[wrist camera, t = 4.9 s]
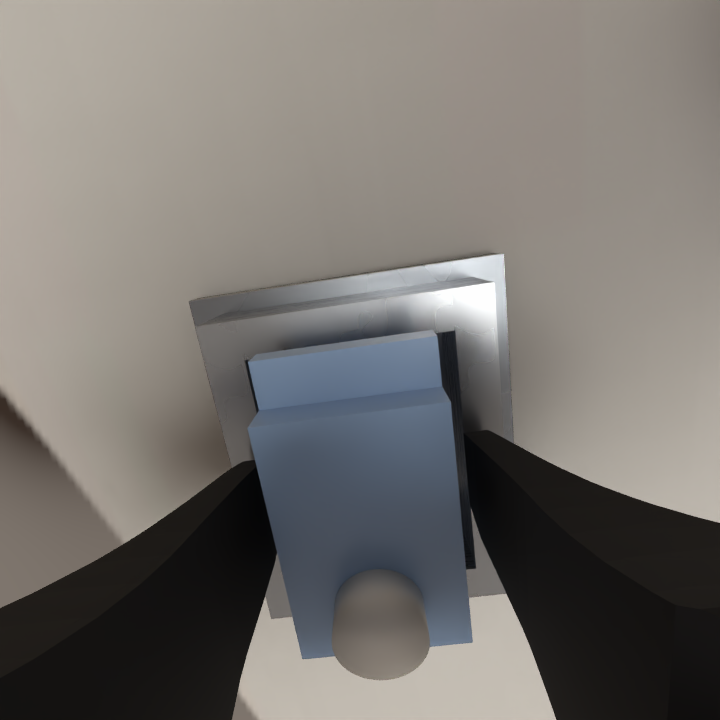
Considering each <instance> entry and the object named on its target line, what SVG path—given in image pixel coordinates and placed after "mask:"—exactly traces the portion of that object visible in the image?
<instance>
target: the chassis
mask: <svg viewBox="0 0 720 720" xmlns="http://www.w3.org/2000/svg"><path fill="white" fill-rule="evenodd" d="M189 304H190V308H191V312H192V316H193V319H194V323H195V329H196V333H197V337H198V340H199V344H200V348H201V352H202V356H203V360H204V363H205V367H206V371H207V375H208V379H209V382H210V386H211V390H212V394H213V398H214V402H215V405H216V409H217V413H218V417H219V421H220V424H221V428H222V432H223V436H224V440H225V444H226V447H227V451H228V455H229V459H230V463H231V466H232V468H233V467H234V466H236V465H237V464H239V463H241V462H243V461H250V460H255V458H254V454H253V449H252V445H251V441H250V437H249V433H248V426H249V425H250V423H251V422H252V420H253V419H254V417H255V416H256V414H257V413H258V411H259V408H258V404H257V400H256V395H255V391H254V386H253V382H252V378H251V373H250V369H249V365H248V362H249V361H250V360H251V359H252V358H253V357H254V356H255V355H256V354H261V353H268V352H275V351H282V350H289V349H297V348H304V347H311V346H318V345H325V344H333V343H340V342H347V341H354V340H361V339H369V338H376V337H383V336H390V335H397V334H404V333H412V332H419V331H426V330H433V331H434V333H435V334H436V335H437V338H438V348H439V359H440V369H441V379H442V387H443V389H444V391H445V392H446V394H447V396H448V398H449V400H450V401H451V410H452V421H453V432H454V443H455V454H456V465H457V476H458V487H459V498H460V509H461V520H462V531H463V542H464V553H465V564H466V575H467V586H468V597H479V596H488V595H497V594H506V591H505V589H504V587H503V585H502V583H501V581H500V579H499V577H498V574H497V572H496V570H495V568H494V566H493V564H492V561H491V559H490V557H489V555H488V553H487V551H486V548H485V546H484V544H483V542H482V540H481V537H480V534H479V531H478V528H477V525H476V522H475V519H474V516H473V512H472V509H471V506H470V503H469V492H468V480H467V469H466V458H465V447H464V435H463V433H466V432H474V431H482V430H489V431H491V432H494V433H495V434H497V435H499V436H501V437H503V438H505V439H506V440H508V441H510V442H512V443H514V438H513V419H512V400H511V381H510V362H509V343H508V324H507V305H506V286H505V267H504V254H503V253H493V254H487V255H480V256H473V257H467V258H460V259H454V260H447V261H441V262H434V263H427V264H421V265H414V266H408V267H401V268H394V269H388V270H381V271H375V272H368V273H362V274H355V275H348V276H342V277H335V278H329V279H322V280H315V281H309V282H302V283H296V284H289V285H283V286H276V287H269V288H263V289H256V290H250V291H243V292H236V293H230V294H223V295H217V296H210V297H204V298H198V299H195V300H192V301H189ZM265 596H266V600H267V604H268V608H269V611H270V615H271V619H275V618H284V617H292V613H291V609H290V604H289V600H288V596H287V592H286V588H285V583H284V579H283V575H282V571H281V567H280V562H279V558H278V554H277V555H276V561H275V565H274V568H273V571H272V575H271V578H270V581H269V585H268V588H267V591H266V595H265Z"/></svg>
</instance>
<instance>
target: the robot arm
mask: <svg viewBox="0 0 720 720" xmlns="http://www.w3.org/2000/svg"><path fill="white" fill-rule="evenodd" d="M463 435H464V447H465V458H466V469H467V480H468V492H469V503H470V506H471V509H472V512H473V516H474V519H475V522H476V525H477V528H478V531H479V534H480V537H481V540H482V542H483V544H484V546H485V548H486V551H487V553H488V555H489V557H490V559H491V561H492V564H493V566H494V568H495V570H496V572H497V574H498V577H499V579H500V581H501V583H502V585H503V587H504V589H505V591H506V594H507V596H508V598H509V600H510V602H511V604H512V606H513V609H514V611H515V613H516V615H517V617H518V619H519V621H520V624H521V626H522V628H523V631H524V633H525V635H526V638H527V640H528V642H529V645H530V647H531V650H532V653H533V655H534V658H535V661H536V664H537V666H538V669H539V672H540V675H541V677H542V680H543V683H544V686H545V689H546V691H547V694H548V697H549V700H550V702H551V705H552V708H553V711H554V714H555V717H556V720H720V523H717V522H713V521H710V520H706V519H702V518H698V517H694V516H691V515H687V514H684V513H680V512H677V511H674V510H670V509H667V508H663V507H660V506H656V505H653V504H650V503H647V502H644V501H641V500H638V499H635V498H632V497H629V496H627V495H624V494H621V493H619V492H616V491H613V490H610V489H608V488H605V487H602V486H600V485H597V484H595V483H593V482H590V481H588V480H585V479H583V478H581V477H579V476H576V475H574V474H572V473H570V472H568V471H566V470H563V469H561V468H559V467H557V466H555V465H553V464H551V463H549V462H547V461H545V460H543V459H541V458H539V457H537V456H536V455H534V454H532V453H530V452H528V451H526V450H524V449H523V448H521V447H519V446H517V445H515V444H514V443H512V442H510V441H508V440H506V439H505V438H503V437H501V436H499V435H497V434H495V433H494V432H491V431H489V430H482V431H474V432H466V433H463ZM276 555H277V550H276V546H275V542H274V537H273V533H272V529H271V525H270V521H269V516H268V512H267V508H266V504H265V500H264V495H263V491H262V487H261V483H260V479H259V475H258V470H257V466H256V462H255V460H250V461H243V462H241V463H239V464H237V465H236V466H234V467H233V468H231V469H230V470H228V471H227V472H226V473H224V474H223V475H222V476H220V477H219V478H218V479H216V480H215V481H214V482H212V483H211V484H210V485H208V486H207V487H206V488H204V489H203V490H202V491H200V492H199V493H198V494H196V495H195V496H194V497H192V498H191V499H190V500H188V501H187V502H186V503H184V504H183V505H181V506H180V507H178V508H177V509H176V510H174V511H173V512H171V513H170V514H168V515H167V516H166V517H164V518H163V519H161V520H160V521H158V522H157V523H156V524H154V525H153V526H151V527H150V528H148V529H147V530H145V531H144V532H142V533H141V534H139V535H138V536H136V537H134V538H133V539H131V540H130V541H128V542H126V543H125V544H123V545H121V546H120V547H118V548H117V549H115V550H113V551H111V552H110V553H108V554H106V555H104V556H103V557H101V558H99V559H98V560H96V561H94V562H92V563H90V564H89V565H87V566H85V567H83V568H81V569H79V570H77V571H75V572H73V573H71V574H69V575H67V576H65V577H63V578H61V579H59V580H58V581H56V582H54V583H52V584H50V585H48V586H46V587H44V588H42V589H40V590H38V591H36V592H34V593H32V594H30V595H28V596H26V597H24V598H22V599H19V600H17V601H15V602H13V603H10V604H8V605H6V606H4V607H2V608H0V720H232V716H233V711H234V707H235V702H236V697H237V692H238V688H239V683H240V678H241V674H242V671H243V667H244V663H245V659H246V656H247V652H248V649H249V646H250V643H251V639H252V636H253V633H254V630H255V627H256V623H257V620H258V617H259V614H260V611H261V607H262V604H263V601H264V598H265V595H266V591H267V588H268V585H269V581H270V578H271V575H272V571H273V568H274V565H275V561H276Z"/></svg>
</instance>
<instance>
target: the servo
mask: <svg viewBox="0 0 720 720" xmlns="http://www.w3.org/2000/svg"><path fill="white" fill-rule="evenodd" d="M248 365H249V369H250V373H251V378H252V382H253V386H254V391H255V395H256V400H257V404H258V408H259V411H258V413H257V414H256V416H255V417H254V419H253V420H252V422H251V423H250V425H249V426H248V433H249V437H250V441H251V445H252V449H253V454H254V458H255V462H256V466H257V470H258V475H259V479H260V483H261V487H262V491H263V495H264V500H265V504H266V508H267V512H268V516H269V521H270V525H271V529H272V533H273V537H274V542H275V546H276V550H277V554H278V558H279V562H280V567H281V571H282V575H283V579H284V583H285V588H286V592H287V596H288V600H289V604H290V609H291V613H292V617H293V621H294V625H295V629H296V634H297V638H298V642H299V646H300V650H301V655H302V659H311V658H321V657H331V656H335V657H336V658H337V660H338V661H339V663H340V664H341V665H342V666H343V667H344V668H346V669H347V670H348V671H350V672H351V673H353V674H355V675H358V676H360V677H363V678H367V679H373V680H389V679H395V678H399V677H401V676H404V675H406V674H408V673H410V672H412V671H413V670H415V669H416V668H417V667H418V666H419V665H420V664H421V663H422V662H423V661H424V659H425V658H426V656H427V654H428V651H429V647H432V646H442V645H453V644H463V643H473V641H472V630H471V619H470V608H469V597H468V586H467V575H466V564H465V553H464V542H463V531H462V520H461V509H460V498H459V487H458V476H457V465H456V454H455V443H454V432H453V421H452V410H451V401H450V400H449V398H448V396H447V394H446V392H445V391H444V389H443V387H442V379H441V369H440V359H439V348H438V338H437V335H436V334H435V333H434V331H433V330H426V331H419V332H412V333H404V334H397V335H390V336H383V337H376V338H369V339H361V340H354V341H347V342H340V343H333V344H325V345H318V346H311V347H304V348H297V349H289V350H282V351H275V352H268V353H261V354H256V355H255V356H254V357H253V358H252V359H251V360H250V361H249V362H248Z"/></svg>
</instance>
